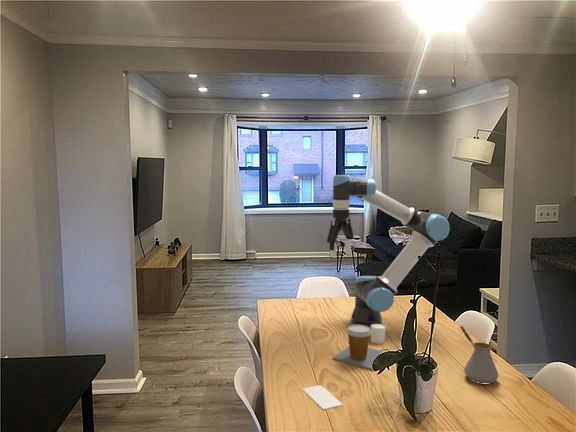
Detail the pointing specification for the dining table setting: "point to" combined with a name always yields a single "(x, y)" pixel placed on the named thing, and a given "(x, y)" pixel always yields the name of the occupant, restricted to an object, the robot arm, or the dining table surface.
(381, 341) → the white candle
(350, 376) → the dining table surface
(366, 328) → the disposable coffee cup
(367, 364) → the grey rubber mat
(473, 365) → the coffee pot
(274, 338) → the dining table surface
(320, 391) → the smartphone
